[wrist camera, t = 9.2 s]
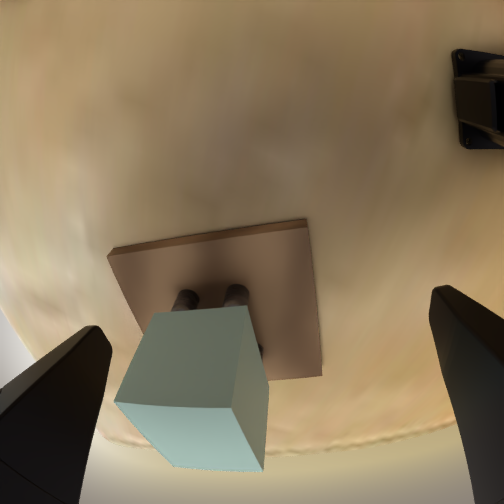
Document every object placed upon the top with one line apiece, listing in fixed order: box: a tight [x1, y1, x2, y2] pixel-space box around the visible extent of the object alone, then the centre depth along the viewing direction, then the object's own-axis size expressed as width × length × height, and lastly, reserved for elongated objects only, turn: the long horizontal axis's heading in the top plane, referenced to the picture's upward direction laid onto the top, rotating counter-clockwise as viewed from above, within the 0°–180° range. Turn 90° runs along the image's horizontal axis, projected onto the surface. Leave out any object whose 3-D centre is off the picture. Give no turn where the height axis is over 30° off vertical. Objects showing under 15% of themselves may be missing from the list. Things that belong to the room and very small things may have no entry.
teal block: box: [114, 305, 269, 472], centre depth 18 cm, size 6×8×7 cm
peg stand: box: [107, 219, 322, 381], centre depth 22 cm, size 14×14×4 cm
